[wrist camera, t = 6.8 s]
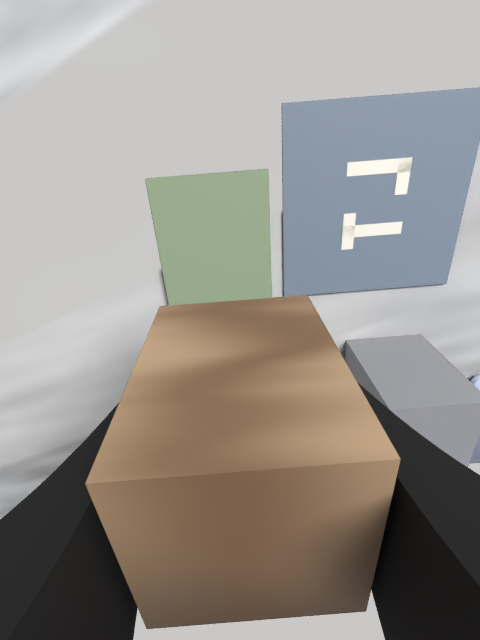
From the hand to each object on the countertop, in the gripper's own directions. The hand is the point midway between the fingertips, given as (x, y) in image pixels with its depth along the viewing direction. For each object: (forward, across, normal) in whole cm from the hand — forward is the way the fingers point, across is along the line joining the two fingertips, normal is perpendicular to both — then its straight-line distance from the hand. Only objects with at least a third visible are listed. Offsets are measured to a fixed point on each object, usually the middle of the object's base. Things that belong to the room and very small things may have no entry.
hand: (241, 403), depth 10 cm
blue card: (+9, -7, -4) cm, 12 cm away
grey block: (+10, -9, +6) cm, 14 cm away
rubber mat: (+9, +1, 0) cm, 9 cm away
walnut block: (+2, 0, 0) cm, 2 cm away
